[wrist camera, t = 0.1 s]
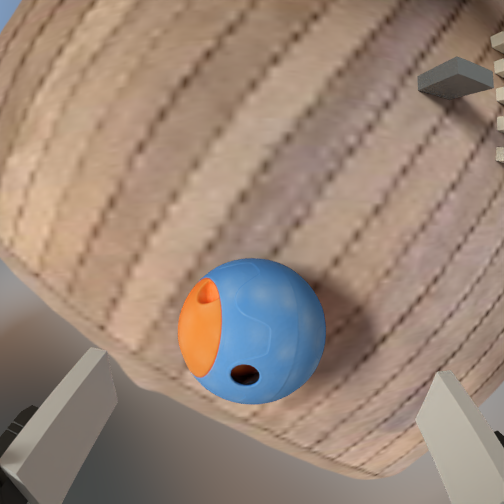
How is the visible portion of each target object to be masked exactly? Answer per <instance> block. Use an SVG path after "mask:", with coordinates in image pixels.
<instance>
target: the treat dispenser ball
mask: <svg viewBox="0 0 504 504" xmlns="http://www.w3.org/2000/svg"><path fill="white" fill-rule="evenodd" d="M325 339H326V325H325V318H324V312H323V309H322V306H321V303H320V301H319V299H318V297H317V296H316V294H315V292H314V291H313V289H312V288H311V287H310V285H309V284H308V283H307V282H306V281H305V280H304V279H303V278H302V277H301V276H300V275H298V274H297V273H296V272H295V271H293V270H292V269H290V268H288V267H286V266H284V265H282V264H280V263H277V262H274V261H270V260H265V259H255V258H249V259H239V260H234V261H231V262H227V263H225V264H222V265H220V266H218V267H216V268H215V269H213V270H212V271H210V272H209V273H208V274H206V275H205V276H204V277H203V278H202V279H200V280H199V282H198V283H197V284H196V285H195V286H194V288H193V289H192V290H191V292H190V293H189V295H188V297H187V298H186V300H185V302H184V305H183V307H182V310H181V313H180V317H179V323H178V341H179V346H180V349H181V352H182V355H183V357H184V360H185V362H186V364H187V366H188V368H189V370H190V371H191V373H192V374H193V376H194V377H195V378H196V379H197V380H198V381H199V382H200V383H201V385H202V386H204V387H205V388H206V389H207V390H209V391H210V392H212V393H213V394H215V395H217V396H219V397H221V398H223V399H226V400H229V401H232V402H236V403H241V404H263V403H269V402H273V401H276V400H279V399H281V398H284V397H286V396H288V395H289V394H291V393H292V392H294V391H296V390H297V389H298V388H300V387H301V386H302V385H303V384H304V383H305V382H306V381H307V380H308V379H309V378H310V377H311V376H312V374H313V373H314V371H315V370H316V368H317V366H318V364H319V361H320V359H321V356H322V354H323V350H324V346H325Z"/></svg>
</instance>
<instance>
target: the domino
mask: <svg viewBox="0 0 504 504" xmlns="http://www.w3.org/2000/svg"><path fill="white" fill-rule="evenodd" d="M492 88H494V85H493V72H492V71H490V70H488V69H486V68H484V67H481V66H479V65H477V64H474V63H472V62H470V61H467V60H465V59H462V58H460V57H455V58H453V59H451V60H449V61H447V62H445V63H443V64H441V65H439V66H437V67H435V68H433V69H431V70H429V71H427V72H425V73H423V74H421V75H419V76H418V91H421V92H425V93H429V94H432V95H435V96H439V97H442V98H445V99H449V100H451V99H455V98H458V97H462V96H465V95H469V94H473V93H477V92H481V91H484V90H488V89H492Z"/></svg>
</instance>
